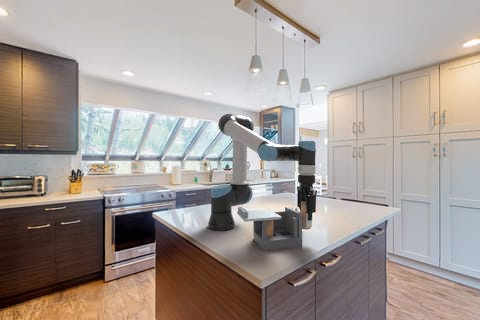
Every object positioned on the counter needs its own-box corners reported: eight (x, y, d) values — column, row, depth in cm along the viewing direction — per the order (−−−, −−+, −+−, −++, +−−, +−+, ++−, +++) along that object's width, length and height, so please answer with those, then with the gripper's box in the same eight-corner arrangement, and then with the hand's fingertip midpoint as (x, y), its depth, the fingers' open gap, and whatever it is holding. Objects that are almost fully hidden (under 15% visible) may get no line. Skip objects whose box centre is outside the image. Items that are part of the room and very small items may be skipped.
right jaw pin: (298, 226, 101) (299, 200, 101) (307, 226, 102) (307, 200, 102) (303, 229, 97) (304, 203, 96) (312, 229, 98) (313, 202, 97)
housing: (253, 239, 104) (253, 208, 104) (287, 235, 109) (287, 206, 109) (263, 250, 91) (263, 216, 91) (302, 246, 95) (302, 213, 95)
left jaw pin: (262, 242, 100) (262, 216, 100) (271, 241, 101) (271, 215, 101) (265, 245, 96) (265, 218, 96) (275, 244, 97) (274, 218, 97)
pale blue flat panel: (237, 213, 103) (237, 206, 103) (269, 211, 106) (269, 204, 106) (244, 221, 89) (244, 213, 89) (281, 218, 93) (281, 210, 93)
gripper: (290, 172, 106) (289, 220, 107) (309, 176, 89) (308, 232, 90) (304, 172, 108) (303, 219, 109) (325, 176, 91) (324, 231, 92)
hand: (305, 225), depth 99 cm, fingers closed on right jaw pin, 4 cm apart
